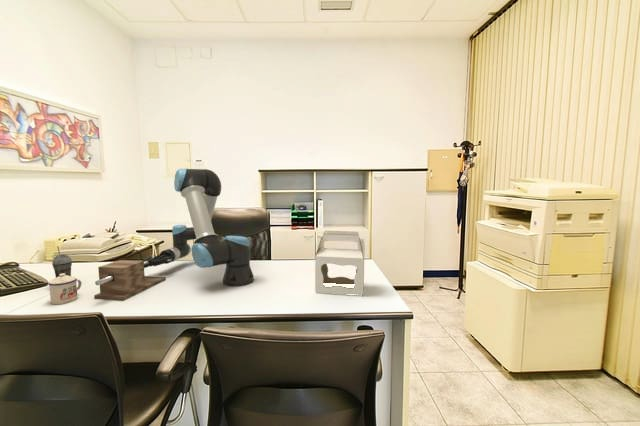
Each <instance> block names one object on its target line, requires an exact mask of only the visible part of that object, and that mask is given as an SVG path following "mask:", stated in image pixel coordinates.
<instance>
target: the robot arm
mask: <svg viewBox="0 0 640 426" xmlns="http://www.w3.org/2000/svg"><path fill="white" fill-rule="evenodd" d="M220 179H221V178H219V176H218V174H217V173H215V171H213V170H211V169H207V168H205V169H203V168H179V169H177V171H176V172H175V174H174V179H173V180H174V183H173V184H174V190H175V192H178V193H179V194H180V196H181V198H184V199H185V202H186V205H187V210H188V213H189V217H190V220H191V224H192V227H187V225H186V224H177V225H174V226H172V231H171V232H172V247H170V248H167V249H164V250H162V251H160V253H159V254H157V255H155V256H152V255H150V256H148V257H146V258H144V259H143V260H142V261H144V269H147V268H149V267H157V266H161V265H164V264H170V263H174V262H175V261H177V260H180V259H182V258H185V257H187V256H188V255H189V254H190V253H191V256H192V260H193V263H195V265H196V266H197V267H199V268H201V269H204V268H212V267H216V266H221V265H225V270H224V273H223V277H222V284H223V285H225V286H229V287H239V286H240V287H241V286H246V285H248V284H251V283H253V282H254V280H255V277H254V273H253V271H252V267H251V265H250V264H251V262H250V261H251V259H250V258H251V257H250V256H251V255H250V251H251V249H250V247H251V246H250V240H249V238H248V237H247V236H241V235H226V236H225V237H224V239H223V240H222V239H220V236H219V235H218V234H217V233H215V230H214V228H213V227H214V226H213V224H212V218H213V214H214V212H215V209H216V208H215V207H216V204H217V203H216V202H217V200H218V197H219V196H220V195H221V193H222V183H221V180H220ZM192 240H193V244H192V246H191V245H189V243H188V241H192Z"/></svg>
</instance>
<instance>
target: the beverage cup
mask: <svg viewBox="0 0 640 426" xmlns="http://www.w3.org/2000/svg"><path fill="white" fill-rule="evenodd" d="M56 248H57V252H58V255H56V256H55V257H54V258H53V259H52V267H53V271H54V274H55V278H56V277H59V274H62V273H65V275H68V276H72V263H73V260H72V258H71V257H70V256H69V255H67V254H61V251H60V246H59V245H57V246H56Z"/></svg>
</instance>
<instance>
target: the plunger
mask: <svg viewBox="0 0 640 426" xmlns="http://www.w3.org/2000/svg"><path fill="white" fill-rule="evenodd" d="M113 279H114V275H111V276H108V277H106V278H103V279H100V280H99V279H98V280H96V281H95V282H94V283H95V285H96V286H100V285H101V284H103V283H106V282H108V281H111V280H113Z"/></svg>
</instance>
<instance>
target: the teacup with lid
mask: <svg viewBox="0 0 640 426" xmlns="http://www.w3.org/2000/svg"><path fill="white" fill-rule="evenodd" d="M77 282H78V284H77ZM47 283H48V286H49V296H50V297H49V298H50V303H51V304H52V305H64V304H68V303H71V302H75V301H76V300H77V299H78V298H79V297H78V291H79V290H80V289H81V287H82V284H83V283H82V281H81V280H80V279H77V277H76V276H73V275H71V276H68V275H65V273H62V274H59V277H56V276H55V278H54V279H51V280H49V281H48V282H47Z"/></svg>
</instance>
